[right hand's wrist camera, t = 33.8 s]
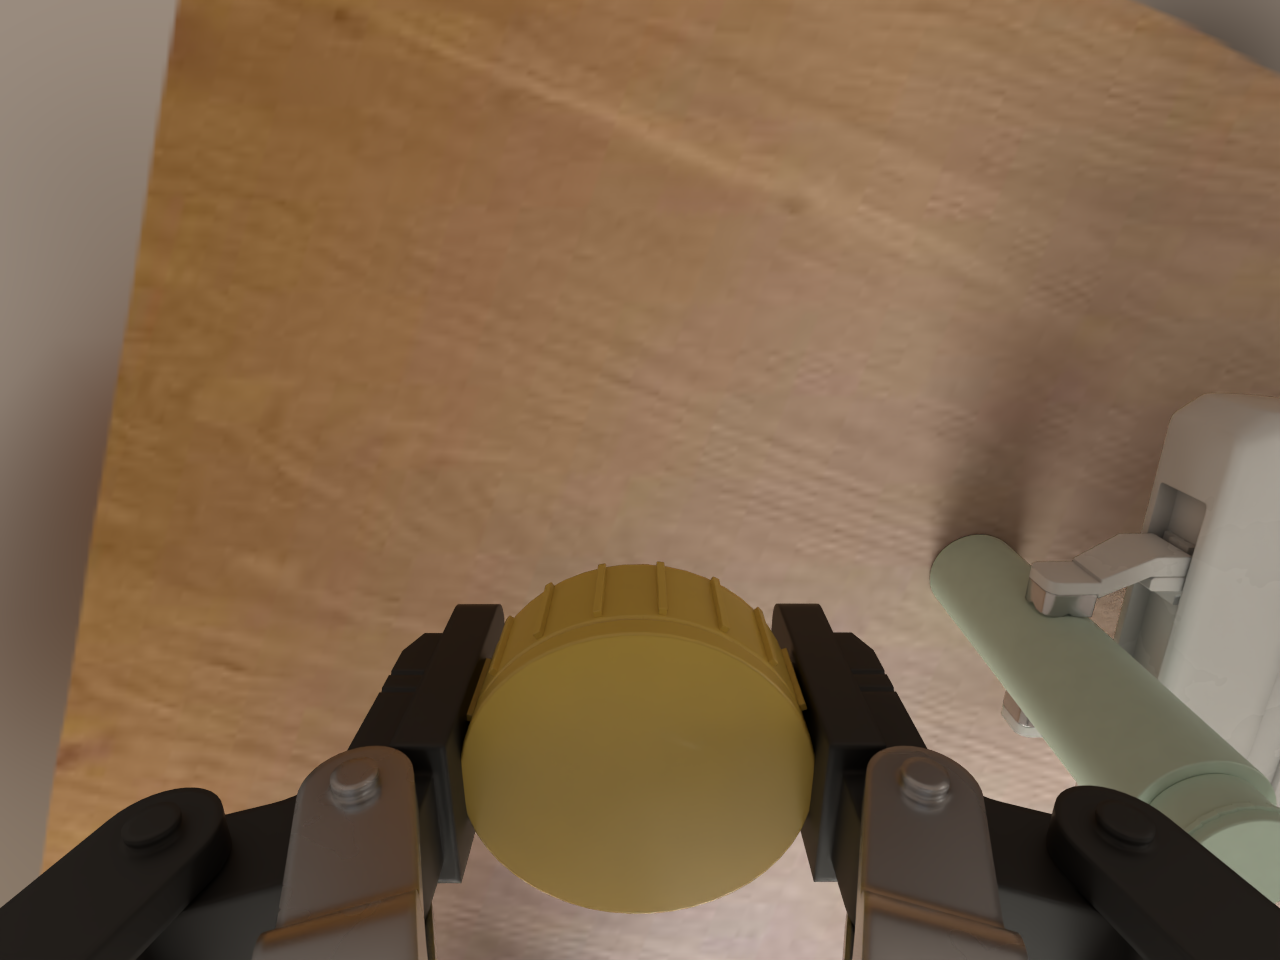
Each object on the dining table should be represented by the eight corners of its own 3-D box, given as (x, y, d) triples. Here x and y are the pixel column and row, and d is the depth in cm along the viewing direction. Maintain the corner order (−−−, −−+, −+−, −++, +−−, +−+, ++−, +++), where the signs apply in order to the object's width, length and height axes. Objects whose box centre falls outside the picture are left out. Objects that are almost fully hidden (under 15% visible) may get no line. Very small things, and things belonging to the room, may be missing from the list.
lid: (531, 835, 12) (512, 941, 10) (443, 591, 10) (404, 667, 9) (810, 789, 12) (840, 890, 10) (765, 527, 10) (792, 593, 8)
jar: (919, 552, 33) (1150, 837, 18) (1005, 521, 33) (1322, 787, 17) (942, 622, 35) (1176, 943, 19) (1025, 593, 34) (1337, 901, 19)
